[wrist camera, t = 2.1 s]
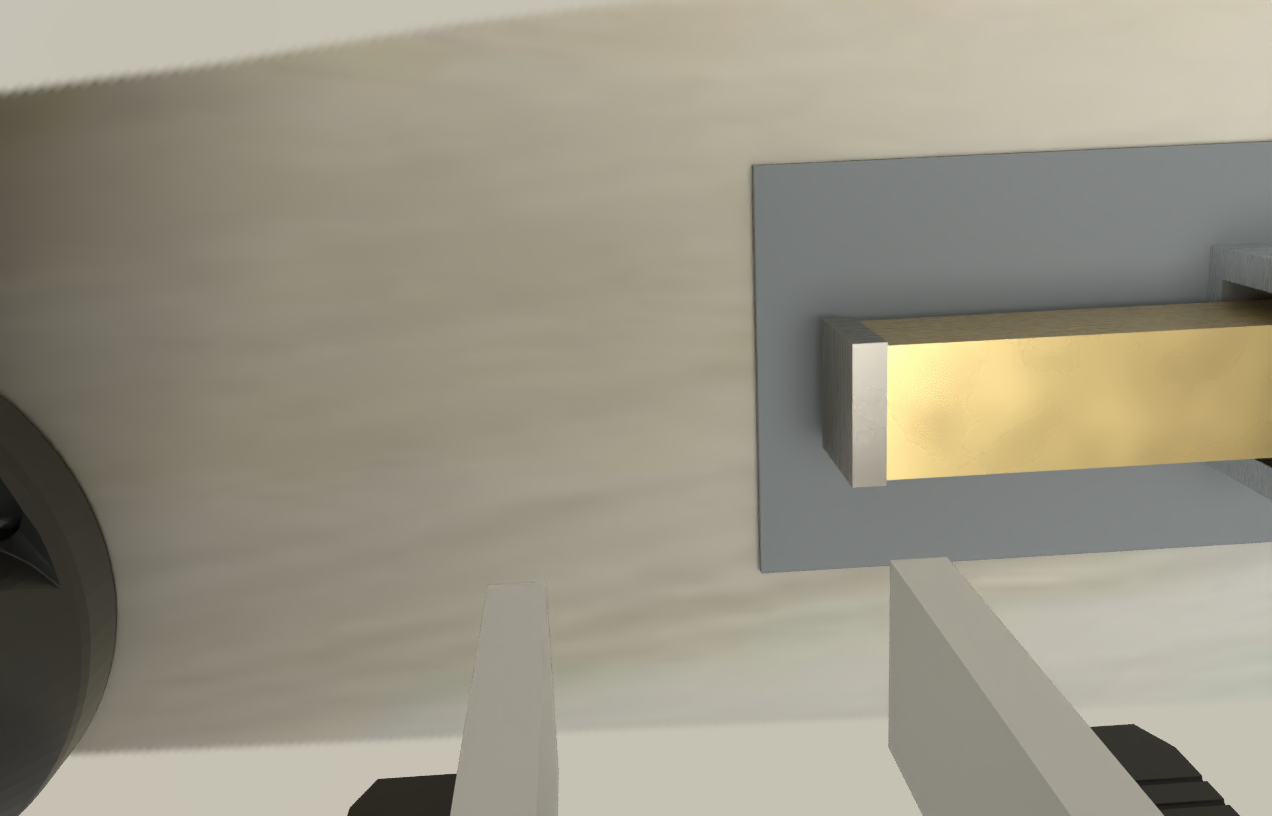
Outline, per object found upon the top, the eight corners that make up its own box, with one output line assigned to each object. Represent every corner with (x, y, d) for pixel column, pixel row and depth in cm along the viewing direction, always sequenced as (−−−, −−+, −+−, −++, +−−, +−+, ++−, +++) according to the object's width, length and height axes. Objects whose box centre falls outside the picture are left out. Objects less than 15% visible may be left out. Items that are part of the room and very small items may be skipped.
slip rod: (822, 447, 31) (852, 487, 28) (821, 318, 31) (852, 344, 27) (1420, 413, 32) (1517, 448, 29) (1435, 286, 31) (1537, 307, 28)
